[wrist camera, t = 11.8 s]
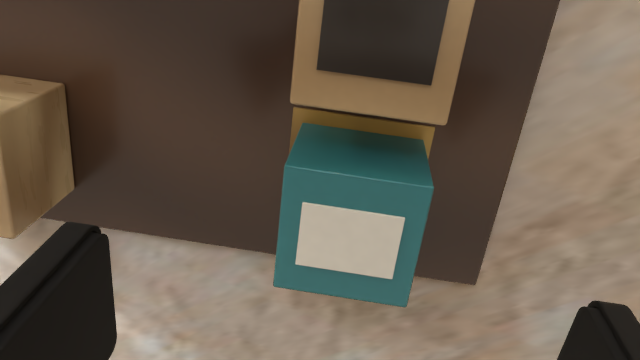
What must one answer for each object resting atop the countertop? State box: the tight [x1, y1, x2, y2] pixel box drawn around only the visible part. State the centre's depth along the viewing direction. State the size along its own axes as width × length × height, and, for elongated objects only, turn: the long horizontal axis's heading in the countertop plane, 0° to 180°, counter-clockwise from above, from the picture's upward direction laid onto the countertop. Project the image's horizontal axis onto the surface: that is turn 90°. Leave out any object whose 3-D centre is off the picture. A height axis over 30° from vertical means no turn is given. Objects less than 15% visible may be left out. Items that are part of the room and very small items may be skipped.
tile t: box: [290, 0, 475, 125], centre depth 14 cm, size 4×4×4 cm
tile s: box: [273, 123, 434, 307], centre depth 16 cm, size 4×4×4 cm
